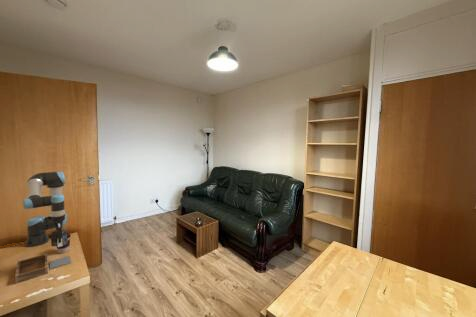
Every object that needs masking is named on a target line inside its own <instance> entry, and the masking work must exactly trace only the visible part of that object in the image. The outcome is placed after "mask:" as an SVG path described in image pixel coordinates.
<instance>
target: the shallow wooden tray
mask: <svg viewBox="0 0 476 317" xmlns="http://www.w3.org/2000/svg"><path fill="white" fill-rule="evenodd" d="M42 262H44V267H41V268H37V269H33V270H31V271H27V272H24V273H21V268H26V267H29V266H33V265H36V264H40V263H42ZM48 268H49V267H48V253H45V254H41V255H37V256H34V257H30V258H25V259H23V260H18V261H17V263H16V269H15V270H16V271H15V275H14V279H15V280H14V283H15V284H16V283H17V284H20V283H23V282H26V281H29V280H32V279H35V278H38V277H42V276H44V275H49V271H48V270H49V269H48Z"/></svg>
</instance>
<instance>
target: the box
mask: <svg viewBox="0 0 476 317" xmlns="http://www.w3.org/2000/svg"><path fill="white" fill-rule="evenodd" d="M67 233H68V229H62V246H63V245H65V244H66V243H68V240H67ZM56 238H58V237H57V230H56V229H55V230H54V231H51V232H50V244H51V247H57V246H58V245H57V239H56Z"/></svg>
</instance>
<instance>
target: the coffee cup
mask: <svg viewBox="0 0 476 317" xmlns="http://www.w3.org/2000/svg"><path fill="white" fill-rule="evenodd" d="M70 237H71V233H69V232H67V240H68V243H66V244H65V245H63V246H61V247H58V246H56V249H57V253H58V254H65V253H67V252H68V251H70V242H71V239H70Z"/></svg>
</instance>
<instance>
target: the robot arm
mask: <svg viewBox="0 0 476 317" xmlns="http://www.w3.org/2000/svg"><path fill="white" fill-rule="evenodd" d="M65 178H66V177H65V173H64V172H63V171H49V172H46V171H45V172H38V173H36V174H33V175H32V176H30V177H28V179H27V181H26V186H27V188H28V189H27V198H24V199H23V200H22V205H23V209H24V210H29V209H30V210H31V209H35V208H36V209H37V208H42V207H43V208H45V207H49V208H50V210H49V211H50V213H49V214H48V215H47V216H45V215H38V216H35V217H34V216H33V217H31V218H30V219H28V220H27V222H26V224H27V225H26V227H27V238H26V241H25V244H24V245H25V246H26V247H29V248H31V247H38V246H41V245H44V244H46V243H48V242H49V240H50V238H49V235H48V234H47V230H53V229H55V231H56V230H57V237H58V238H56V239H57V245H58V247H61V246H62V230H63V227H64V226H66V224H67V219H68V215H67V213H66V209H65V195H64V194H63V187H64V186H65V184H67V183H66V179H65ZM42 186H43V187H44V186H46V188H48V191H49V195H47V196H42Z"/></svg>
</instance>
